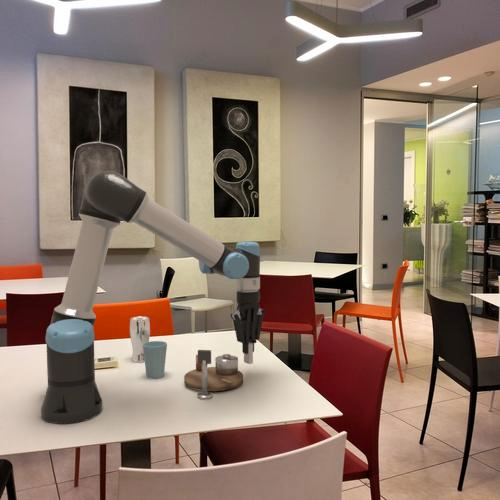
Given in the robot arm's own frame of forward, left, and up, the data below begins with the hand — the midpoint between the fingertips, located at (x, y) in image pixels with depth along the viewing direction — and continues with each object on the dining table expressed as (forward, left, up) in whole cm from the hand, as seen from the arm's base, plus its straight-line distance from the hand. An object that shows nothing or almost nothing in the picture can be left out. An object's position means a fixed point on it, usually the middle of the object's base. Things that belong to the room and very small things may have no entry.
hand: (248, 362), depth 167 cm
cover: (-9, 0, -1) cm, 9 cm away
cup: (-24, +18, -4) cm, 30 cm away
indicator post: (-23, -8, -4) cm, 24 cm away
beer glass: (-19, +37, -4) cm, 42 cm away
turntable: (-14, 0, -4) cm, 14 cm away
